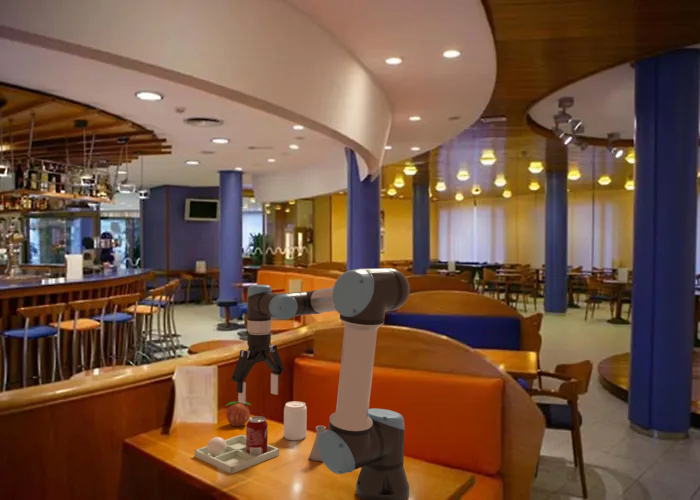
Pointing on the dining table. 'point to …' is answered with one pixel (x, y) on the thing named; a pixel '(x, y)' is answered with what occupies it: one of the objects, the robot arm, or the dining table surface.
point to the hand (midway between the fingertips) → (258, 398)
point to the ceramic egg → (216, 446)
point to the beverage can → (295, 420)
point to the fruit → (238, 413)
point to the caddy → (235, 455)
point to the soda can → (256, 436)
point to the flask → (316, 445)
